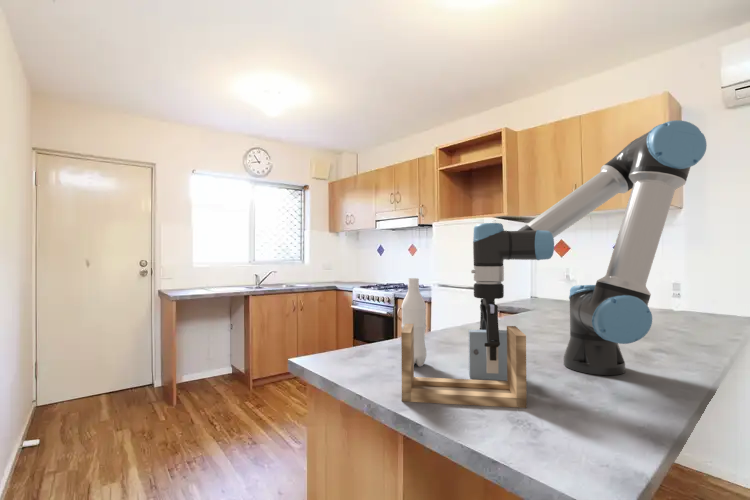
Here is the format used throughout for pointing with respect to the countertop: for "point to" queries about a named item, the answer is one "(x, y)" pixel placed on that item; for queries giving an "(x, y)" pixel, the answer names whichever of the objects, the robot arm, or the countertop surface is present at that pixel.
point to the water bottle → (415, 318)
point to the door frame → (467, 389)
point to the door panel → (480, 358)
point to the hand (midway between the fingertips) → (489, 365)
